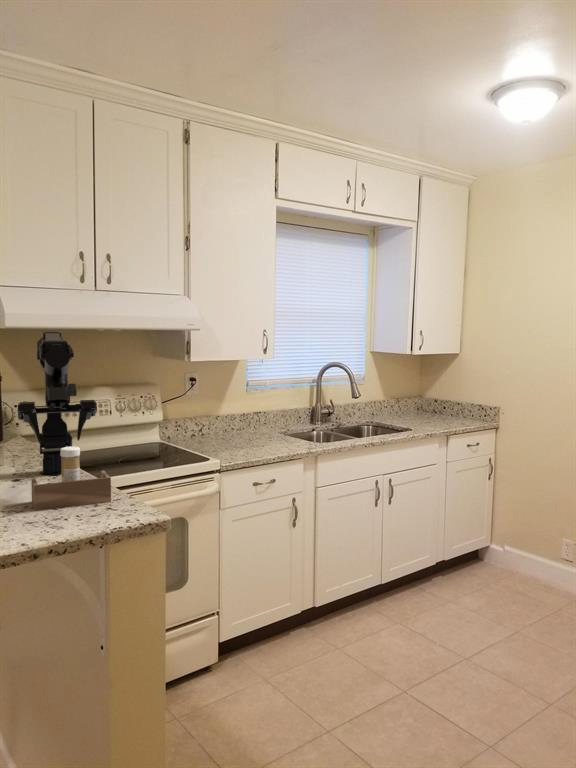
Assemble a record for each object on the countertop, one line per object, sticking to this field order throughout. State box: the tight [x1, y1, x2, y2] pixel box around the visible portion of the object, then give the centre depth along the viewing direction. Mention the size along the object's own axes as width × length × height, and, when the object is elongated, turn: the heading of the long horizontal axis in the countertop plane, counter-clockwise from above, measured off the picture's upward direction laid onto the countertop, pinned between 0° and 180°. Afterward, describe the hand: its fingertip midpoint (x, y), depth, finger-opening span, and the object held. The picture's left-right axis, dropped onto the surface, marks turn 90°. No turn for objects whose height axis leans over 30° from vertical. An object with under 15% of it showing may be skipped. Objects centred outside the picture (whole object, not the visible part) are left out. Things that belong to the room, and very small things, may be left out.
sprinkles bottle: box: [60, 446, 81, 482], centre depth 148 cm, size 5×5×14 cm
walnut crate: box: [30, 470, 112, 511], centre depth 148 cm, size 8×18×6 cm, turn 118°
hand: (59, 441), depth 150 cm, fingers open, 9 cm apart
